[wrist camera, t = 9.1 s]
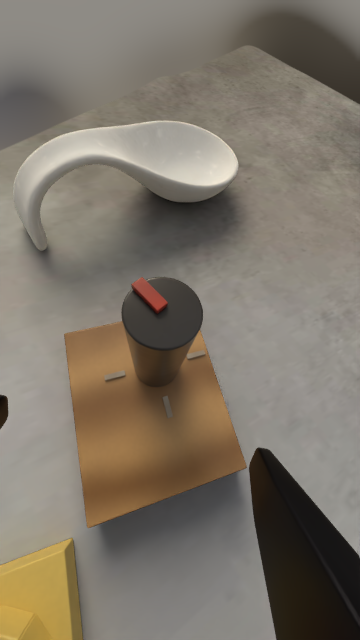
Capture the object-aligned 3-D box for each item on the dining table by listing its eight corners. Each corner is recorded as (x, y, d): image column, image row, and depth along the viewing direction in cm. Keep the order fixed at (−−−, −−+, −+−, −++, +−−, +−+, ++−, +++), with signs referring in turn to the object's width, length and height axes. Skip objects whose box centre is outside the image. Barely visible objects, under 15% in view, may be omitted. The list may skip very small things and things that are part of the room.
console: (235, 463, 18) (248, 468, 16) (96, 514, 16) (86, 530, 13) (187, 318, 22) (192, 305, 20) (73, 343, 20) (63, 332, 18)
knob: (187, 366, 18) (221, 310, 9) (154, 397, 17) (160, 366, 8) (158, 335, 19) (165, 258, 10) (125, 363, 18) (102, 303, 9)
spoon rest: (191, 142, 33) (202, 72, 26) (248, 199, 30) (276, 134, 23) (9, 201, 25) (-39, 123, 19) (59, 285, 22) (21, 226, 16)
